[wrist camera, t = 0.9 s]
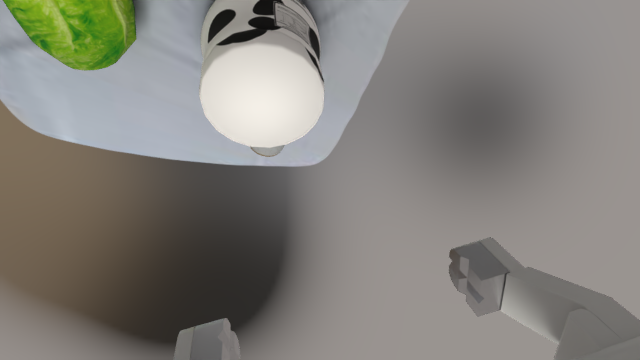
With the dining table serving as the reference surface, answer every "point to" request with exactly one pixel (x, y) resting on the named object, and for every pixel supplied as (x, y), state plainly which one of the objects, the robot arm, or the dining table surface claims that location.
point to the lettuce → (78, 29)
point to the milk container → (261, 71)
